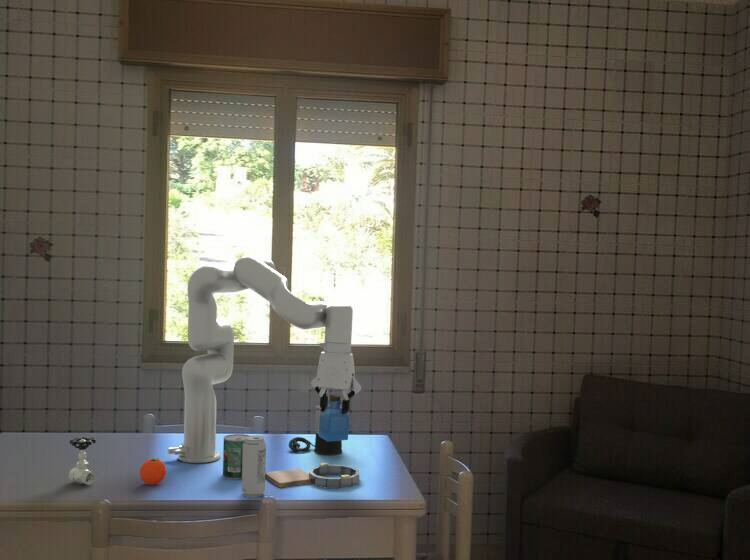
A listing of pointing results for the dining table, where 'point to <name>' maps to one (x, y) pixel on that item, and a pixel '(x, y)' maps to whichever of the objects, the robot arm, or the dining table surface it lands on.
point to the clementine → (152, 471)
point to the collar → (346, 479)
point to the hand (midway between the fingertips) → (334, 411)
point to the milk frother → (317, 441)
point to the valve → (82, 462)
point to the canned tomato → (233, 456)
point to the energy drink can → (253, 466)
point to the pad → (288, 477)
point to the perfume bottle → (333, 421)
